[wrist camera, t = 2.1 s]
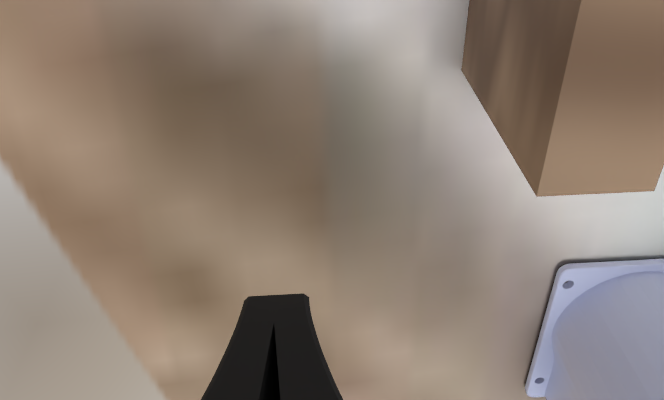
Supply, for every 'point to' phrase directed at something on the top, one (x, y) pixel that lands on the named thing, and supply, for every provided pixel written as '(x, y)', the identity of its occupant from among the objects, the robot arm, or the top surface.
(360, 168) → the top surface
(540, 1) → the slab
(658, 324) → the robot arm
